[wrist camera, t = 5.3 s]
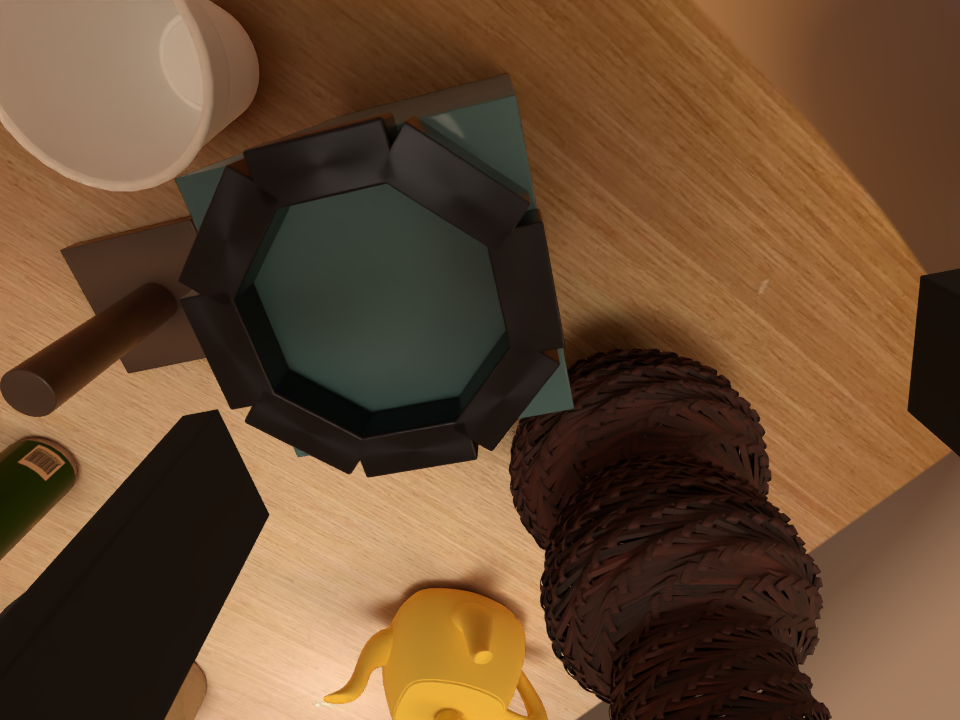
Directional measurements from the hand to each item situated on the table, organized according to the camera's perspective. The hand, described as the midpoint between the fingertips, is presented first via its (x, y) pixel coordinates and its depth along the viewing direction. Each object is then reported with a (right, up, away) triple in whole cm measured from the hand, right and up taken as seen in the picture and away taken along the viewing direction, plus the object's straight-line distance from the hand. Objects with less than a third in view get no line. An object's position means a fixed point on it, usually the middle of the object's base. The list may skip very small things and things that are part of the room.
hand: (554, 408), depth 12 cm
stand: (-4, +12, +25) cm, 28 cm away
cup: (-17, +18, +23) cm, 33 cm away
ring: (-5, +3, +7) cm, 9 cm away
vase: (+8, -2, +32) cm, 33 cm away
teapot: (-4, -22, +42) cm, 48 cm away
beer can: (-36, -7, +36) cm, 51 cm away
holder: (-22, +5, +29) cm, 37 cm away
